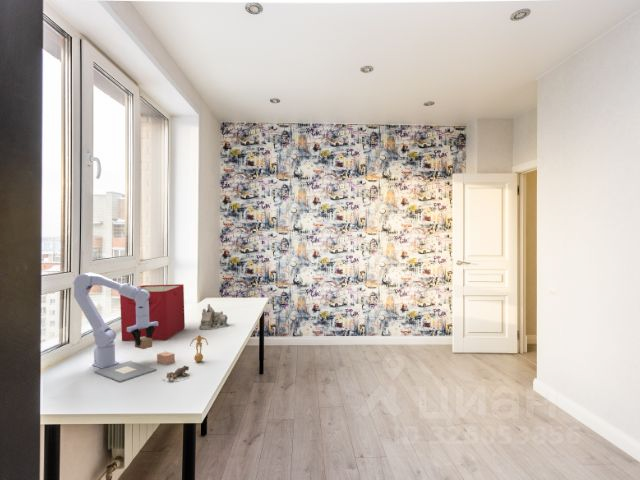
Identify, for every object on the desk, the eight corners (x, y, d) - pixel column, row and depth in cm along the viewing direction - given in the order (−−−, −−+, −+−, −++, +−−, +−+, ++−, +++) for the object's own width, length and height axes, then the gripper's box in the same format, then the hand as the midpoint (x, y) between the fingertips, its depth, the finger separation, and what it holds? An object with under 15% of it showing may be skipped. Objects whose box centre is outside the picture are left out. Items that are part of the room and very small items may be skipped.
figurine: (188, 363, 174) (187, 337, 174) (191, 359, 180) (190, 334, 180) (207, 362, 175) (206, 336, 175) (209, 358, 181) (208, 333, 181)
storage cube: (166, 341, 214) (164, 290, 213) (118, 342, 214) (117, 291, 214) (187, 327, 246) (186, 283, 246) (145, 328, 246) (144, 284, 246)
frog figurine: (182, 370, 166) (181, 362, 166) (197, 376, 158) (197, 367, 158) (156, 378, 157) (156, 369, 157) (171, 385, 149) (171, 375, 149)
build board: (94, 372, 166) (94, 370, 166) (130, 361, 179) (130, 360, 179) (119, 382, 153) (119, 380, 153) (156, 370, 166) (156, 368, 166)
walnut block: (134, 347, 179) (134, 338, 179) (144, 344, 183) (143, 336, 183) (143, 349, 175) (142, 340, 175) (152, 346, 179) (152, 338, 179)
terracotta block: (157, 362, 178) (156, 354, 177) (166, 359, 181) (165, 351, 181) (165, 365, 174) (165, 356, 173) (174, 362, 177) (174, 353, 177)
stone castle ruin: (195, 329, 240) (196, 305, 240) (209, 324, 255) (211, 302, 256) (216, 332, 235) (218, 308, 235) (230, 326, 251) (231, 304, 251)
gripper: (132, 319, 171) (133, 348, 171) (161, 313, 183) (162, 341, 183) (124, 317, 175) (124, 346, 175) (153, 311, 187) (154, 339, 187)
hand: (143, 343), depth 179 cm, fingers closed on walnut block, 5 cm apart
